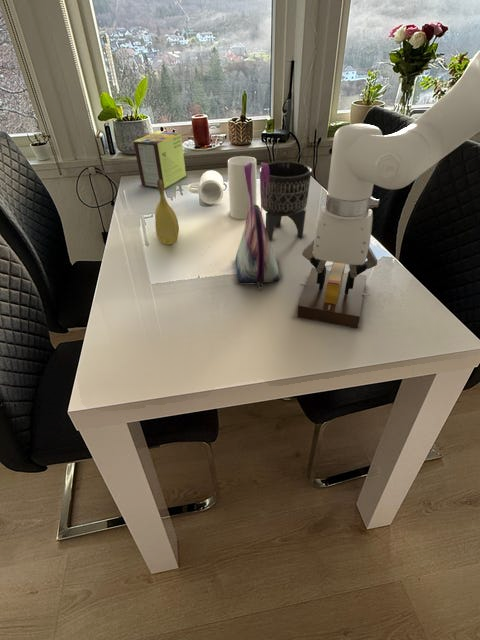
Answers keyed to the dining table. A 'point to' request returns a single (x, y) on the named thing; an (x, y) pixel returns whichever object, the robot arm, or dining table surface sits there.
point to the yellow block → (334, 283)
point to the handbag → (256, 241)
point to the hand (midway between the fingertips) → (334, 287)
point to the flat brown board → (338, 313)
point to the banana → (165, 219)
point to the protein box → (160, 158)
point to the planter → (286, 194)
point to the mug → (209, 187)
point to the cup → (241, 186)
